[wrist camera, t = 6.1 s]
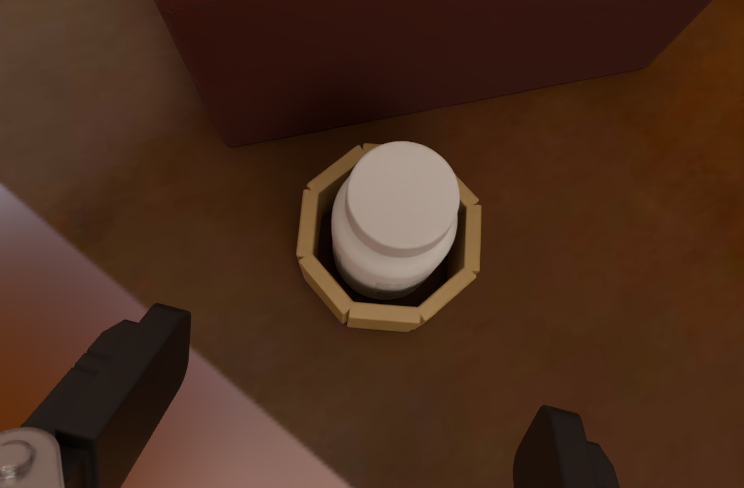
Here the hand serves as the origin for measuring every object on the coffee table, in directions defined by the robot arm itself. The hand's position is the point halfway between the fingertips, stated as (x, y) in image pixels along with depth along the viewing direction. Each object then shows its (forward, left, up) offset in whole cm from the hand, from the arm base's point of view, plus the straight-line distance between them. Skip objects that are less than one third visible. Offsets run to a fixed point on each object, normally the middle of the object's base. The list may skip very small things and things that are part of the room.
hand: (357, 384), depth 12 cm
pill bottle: (+6, -1, -11) cm, 12 cm away
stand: (+6, -1, -11) cm, 12 cm away
